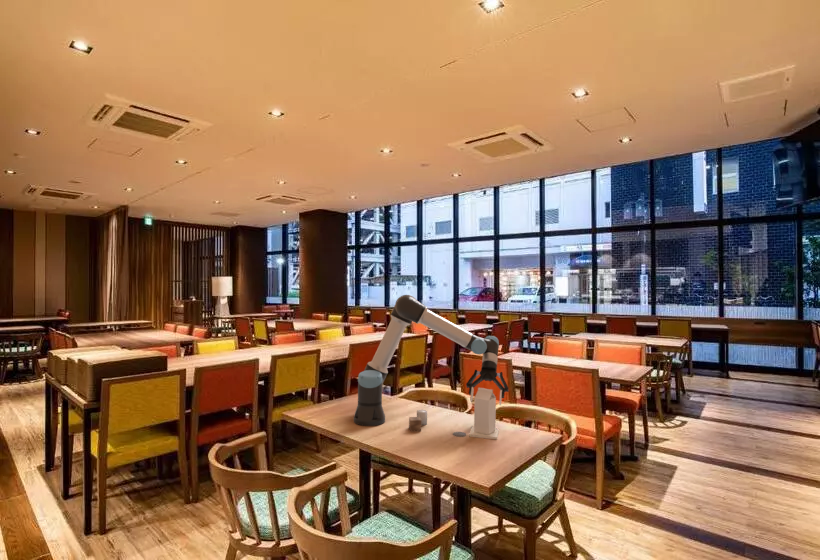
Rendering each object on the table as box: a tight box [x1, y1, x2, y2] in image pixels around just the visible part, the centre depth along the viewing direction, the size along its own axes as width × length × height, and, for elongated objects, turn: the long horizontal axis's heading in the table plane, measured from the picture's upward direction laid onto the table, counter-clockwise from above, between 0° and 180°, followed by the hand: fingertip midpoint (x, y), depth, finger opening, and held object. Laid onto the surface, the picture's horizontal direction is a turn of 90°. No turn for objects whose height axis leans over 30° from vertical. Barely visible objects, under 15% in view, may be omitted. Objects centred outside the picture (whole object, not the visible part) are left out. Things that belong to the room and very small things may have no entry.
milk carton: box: [473, 387, 497, 435], centre depth 193 cm, size 7×7×19 cm
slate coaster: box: [452, 431, 467, 438], centre depth 191 cm, size 6×6×1 cm
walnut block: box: [408, 416, 422, 432], centre depth 197 cm, size 5×5×5 cm
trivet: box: [469, 425, 500, 440], centre depth 193 cm, size 12×12×1 cm
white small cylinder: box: [416, 409, 428, 427], centre depth 205 cm, size 5×5×6 cm
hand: (485, 402), depth 204 cm, fingers open, 13 cm apart
